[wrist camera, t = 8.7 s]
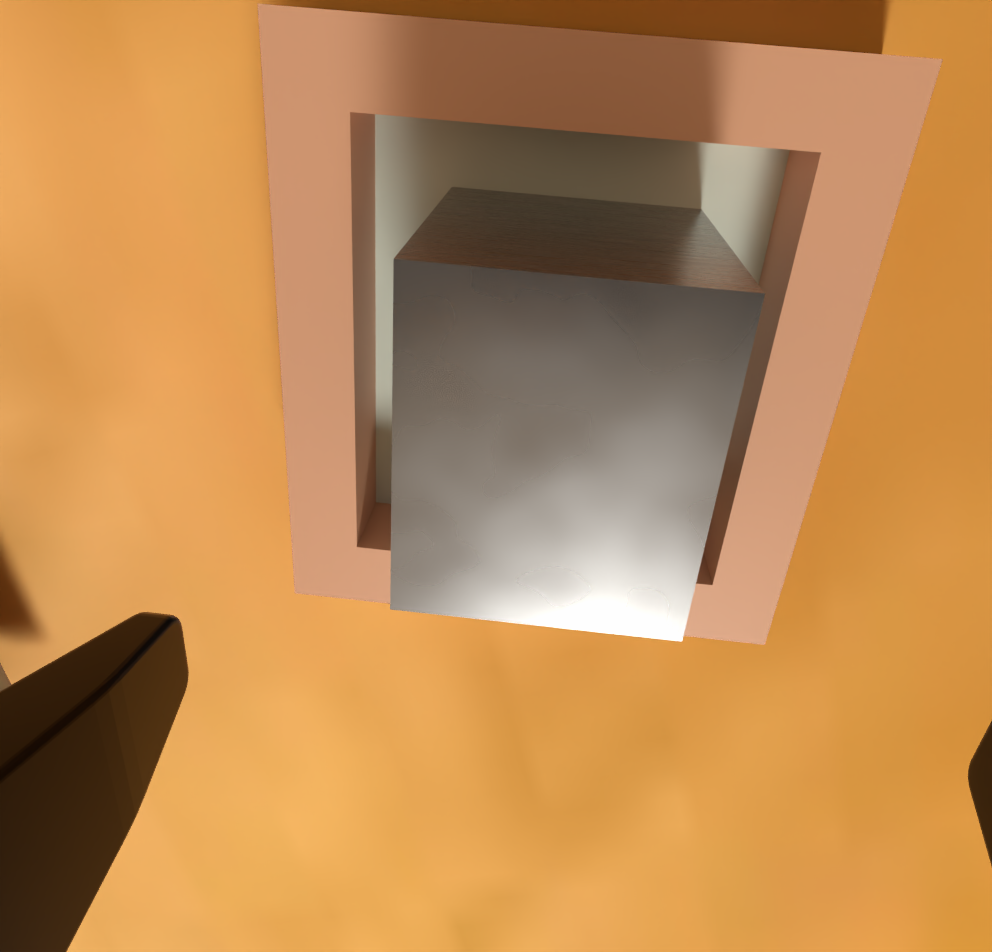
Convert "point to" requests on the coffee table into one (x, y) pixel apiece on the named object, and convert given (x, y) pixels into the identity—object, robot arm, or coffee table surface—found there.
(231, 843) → the coffee table surface
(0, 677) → the toy vehicle
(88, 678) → the robot arm
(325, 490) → the square tray
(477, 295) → the grey metal box
